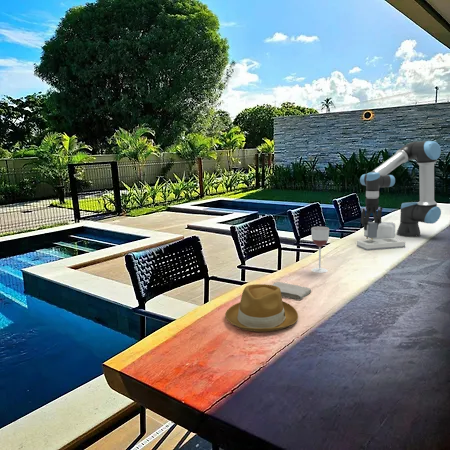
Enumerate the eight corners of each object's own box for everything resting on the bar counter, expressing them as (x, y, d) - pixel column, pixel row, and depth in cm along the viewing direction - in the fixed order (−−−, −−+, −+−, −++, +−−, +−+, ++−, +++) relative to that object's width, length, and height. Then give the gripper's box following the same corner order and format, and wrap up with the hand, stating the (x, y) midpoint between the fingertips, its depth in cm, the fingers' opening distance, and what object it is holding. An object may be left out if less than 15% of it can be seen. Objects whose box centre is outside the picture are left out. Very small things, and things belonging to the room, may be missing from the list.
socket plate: (393, 243, 258) (393, 236, 257) (405, 247, 247) (405, 240, 246) (356, 246, 253) (356, 239, 253) (366, 250, 242) (367, 243, 241)
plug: (371, 237, 252) (372, 221, 250) (376, 239, 246) (377, 223, 244) (364, 238, 251) (364, 222, 249) (369, 240, 245) (370, 223, 244)
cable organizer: (396, 239, 268) (396, 222, 266) (392, 242, 260) (393, 225, 258) (373, 237, 277) (373, 220, 275) (368, 240, 269) (369, 223, 267)
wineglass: (329, 268, 208) (329, 226, 204) (327, 273, 199) (328, 230, 195) (312, 267, 211) (312, 226, 207) (309, 272, 202) (310, 229, 198)
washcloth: (275, 286, 184) (275, 279, 184) (312, 293, 174) (312, 286, 173) (262, 293, 175) (262, 287, 174) (300, 301, 164) (300, 294, 164)
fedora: (213, 329, 140) (212, 297, 138) (240, 300, 167) (239, 273, 164) (288, 340, 131) (288, 306, 128) (304, 308, 157) (304, 279, 155)
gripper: (382, 196, 249) (380, 232, 254) (355, 197, 246) (354, 234, 250) (389, 197, 242) (387, 235, 246) (361, 199, 239) (360, 236, 243)
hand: (370, 234), depth 248 cm, fingers closed on plug, 5 cm apart
